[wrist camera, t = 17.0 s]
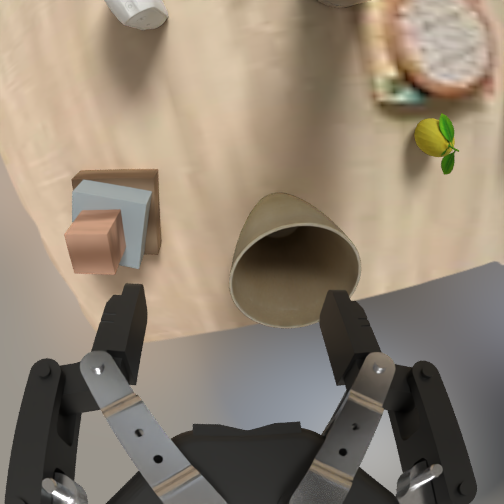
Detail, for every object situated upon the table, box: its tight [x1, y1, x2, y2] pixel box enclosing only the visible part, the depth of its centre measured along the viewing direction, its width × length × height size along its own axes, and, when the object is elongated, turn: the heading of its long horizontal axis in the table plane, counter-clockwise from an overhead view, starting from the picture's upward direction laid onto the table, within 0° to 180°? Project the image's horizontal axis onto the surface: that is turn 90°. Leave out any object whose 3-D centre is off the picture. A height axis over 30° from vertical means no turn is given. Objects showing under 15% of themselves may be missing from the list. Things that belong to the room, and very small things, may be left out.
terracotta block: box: [64, 209, 126, 275], centre depth 37 cm, size 6×6×6 cm
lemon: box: [414, 113, 459, 174], centre depth 38 cm, size 7×6×10 cm
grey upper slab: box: [72, 180, 152, 269], centre depth 41 cm, size 10×10×4 cm
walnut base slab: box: [72, 169, 161, 255], centre depth 44 cm, size 12×12×4 cm
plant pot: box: [229, 193, 361, 328], centre depth 42 cm, size 15×15×16 cm
